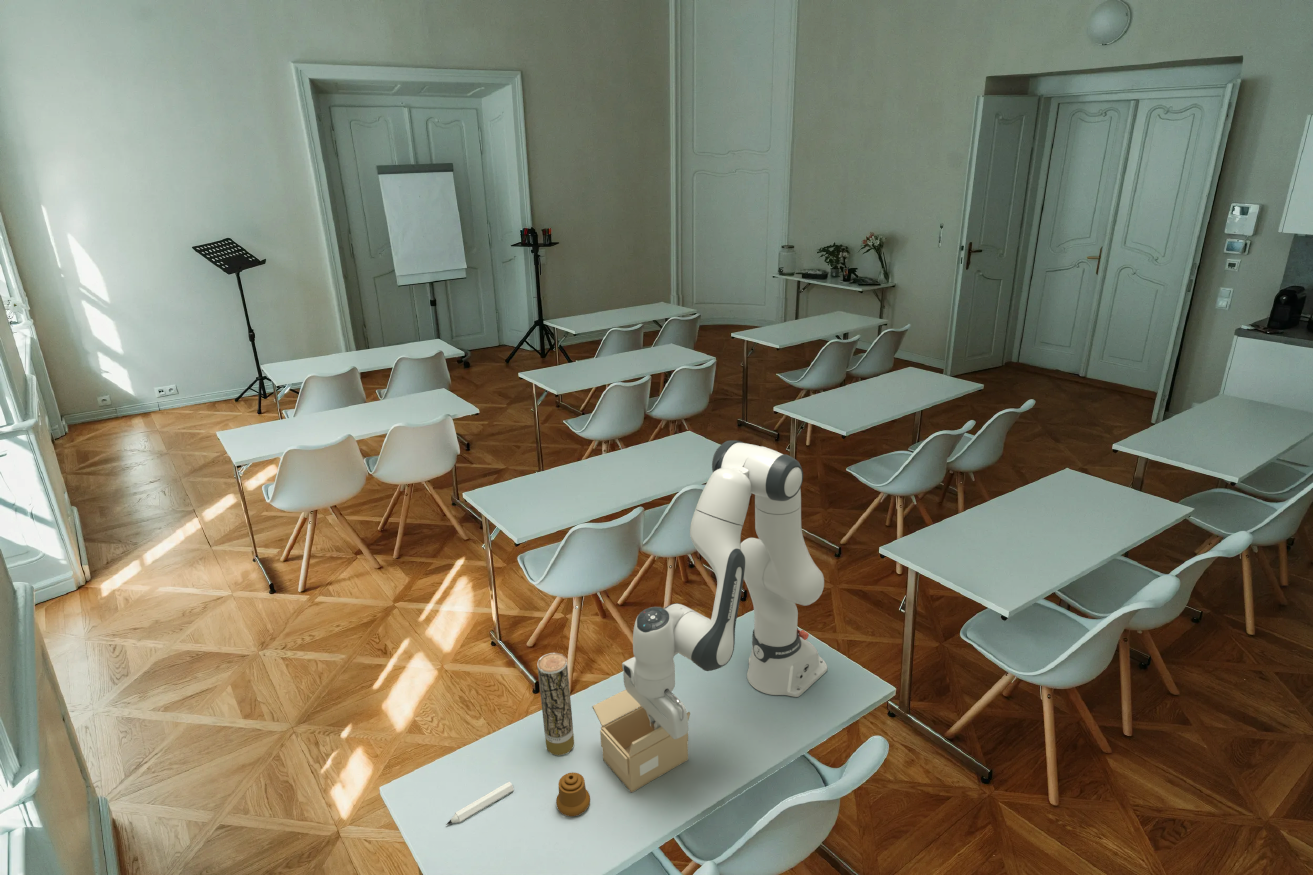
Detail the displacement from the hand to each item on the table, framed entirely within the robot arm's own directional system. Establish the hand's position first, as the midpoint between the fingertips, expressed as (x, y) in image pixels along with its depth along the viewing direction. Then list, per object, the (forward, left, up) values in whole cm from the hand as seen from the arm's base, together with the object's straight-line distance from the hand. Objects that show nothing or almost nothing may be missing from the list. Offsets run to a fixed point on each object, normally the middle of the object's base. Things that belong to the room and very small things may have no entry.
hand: (656, 728), depth 173 cm
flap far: (0, -11, -3) cm, 12 cm away
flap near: (0, 0, -3) cm, 3 cm away
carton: (0, -5, -14) cm, 15 cm away
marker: (+37, -16, -14) cm, 43 cm away
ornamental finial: (+20, -4, -14) cm, 25 cm away
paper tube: (+14, -21, -14) cm, 29 cm away
